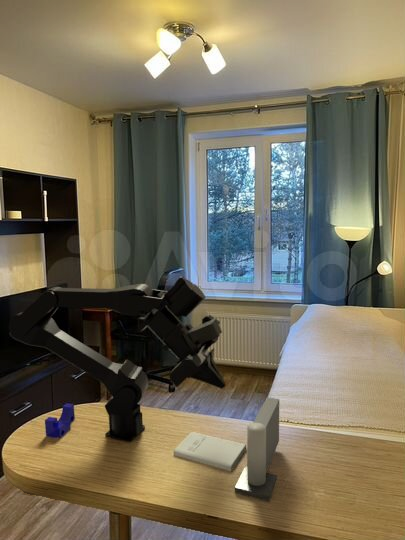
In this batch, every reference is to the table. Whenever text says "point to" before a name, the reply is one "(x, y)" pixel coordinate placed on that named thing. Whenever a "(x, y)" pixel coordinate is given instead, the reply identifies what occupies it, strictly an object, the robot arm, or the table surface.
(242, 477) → the arm mount
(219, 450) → the external hard drive
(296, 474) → the table surface
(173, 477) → the table surface
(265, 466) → the swing arm
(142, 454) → the table surface
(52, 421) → the cable holder
